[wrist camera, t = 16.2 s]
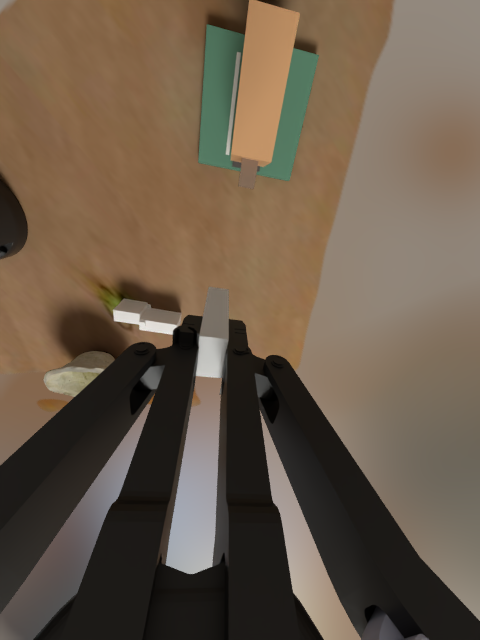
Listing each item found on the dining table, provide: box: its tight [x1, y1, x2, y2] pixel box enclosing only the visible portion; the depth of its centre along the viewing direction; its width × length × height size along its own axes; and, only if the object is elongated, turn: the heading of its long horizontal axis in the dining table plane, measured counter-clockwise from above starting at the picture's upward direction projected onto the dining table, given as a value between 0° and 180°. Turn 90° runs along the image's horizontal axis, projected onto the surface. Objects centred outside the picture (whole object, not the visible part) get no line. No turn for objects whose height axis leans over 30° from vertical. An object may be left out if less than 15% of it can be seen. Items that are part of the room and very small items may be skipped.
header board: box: [198, 24, 319, 181], centre depth 29 cm, size 14×14×7 cm
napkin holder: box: [113, 299, 181, 335], centre depth 45 cm, size 15×11×6 cm
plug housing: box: [231, 0, 300, 189], centre depth 27 cm, size 5×15×7 cm, turn 170°
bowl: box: [44, 351, 115, 396], centre depth 49 cm, size 15×14×10 cm
